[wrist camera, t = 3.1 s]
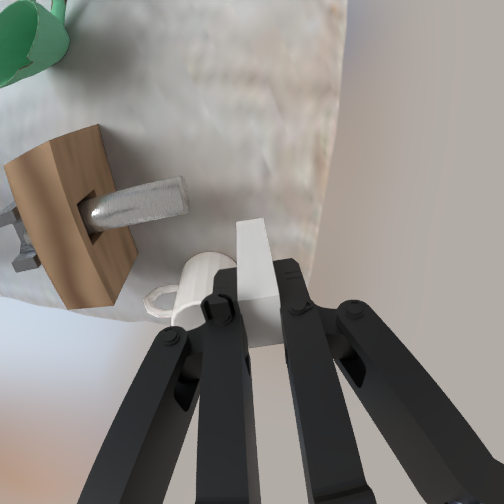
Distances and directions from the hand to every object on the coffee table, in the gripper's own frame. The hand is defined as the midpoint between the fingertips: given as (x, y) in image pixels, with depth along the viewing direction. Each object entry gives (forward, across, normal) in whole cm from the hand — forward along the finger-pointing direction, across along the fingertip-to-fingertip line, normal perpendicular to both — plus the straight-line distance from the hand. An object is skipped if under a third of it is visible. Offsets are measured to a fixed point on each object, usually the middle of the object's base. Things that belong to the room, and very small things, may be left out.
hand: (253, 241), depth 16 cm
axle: (+12, -16, 0) cm, 20 cm away
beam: (+17, -19, 0) cm, 26 cm away
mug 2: (+18, -9, -14) cm, 24 cm away
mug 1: (+17, -19, +24) cm, 35 cm away
